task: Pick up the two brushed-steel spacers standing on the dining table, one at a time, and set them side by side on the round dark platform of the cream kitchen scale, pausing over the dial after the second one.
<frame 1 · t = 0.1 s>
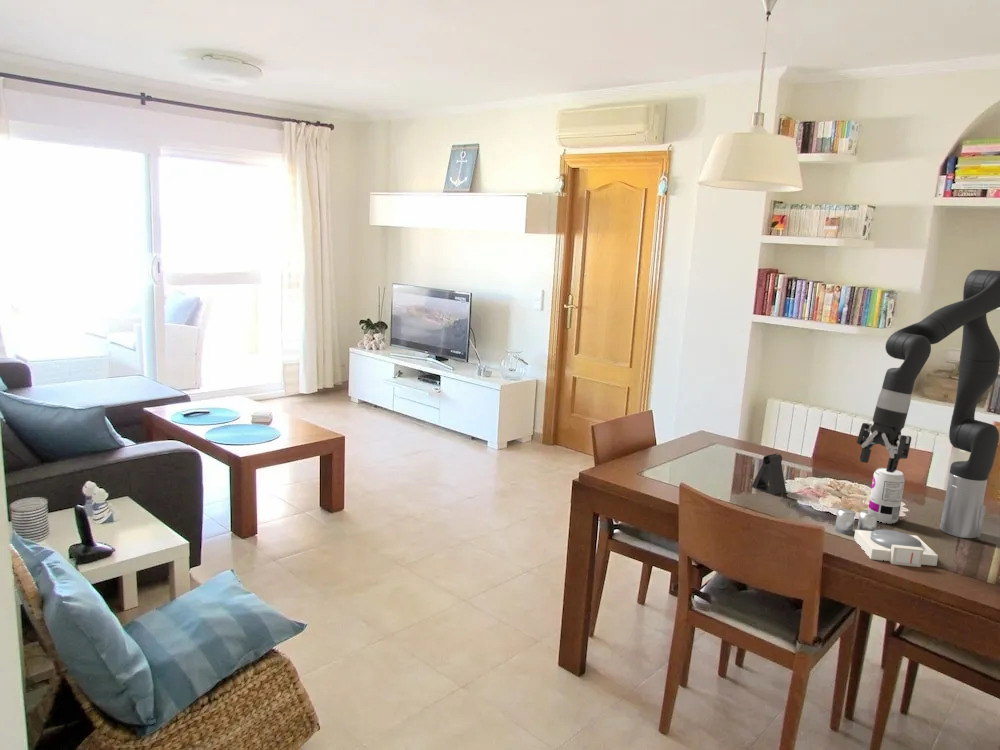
hand: (876, 467, 193), 22 cm above the table, tool pointing down, fingers open, 8 cm apart
scale: (893, 552, 194), on the table
spacer 2: (843, 531, 207), on the table
supplement can: (882, 519, 217), on the table
spacer 1: (865, 533, 206), on the table
black triangular stand: (768, 490, 239), on the table
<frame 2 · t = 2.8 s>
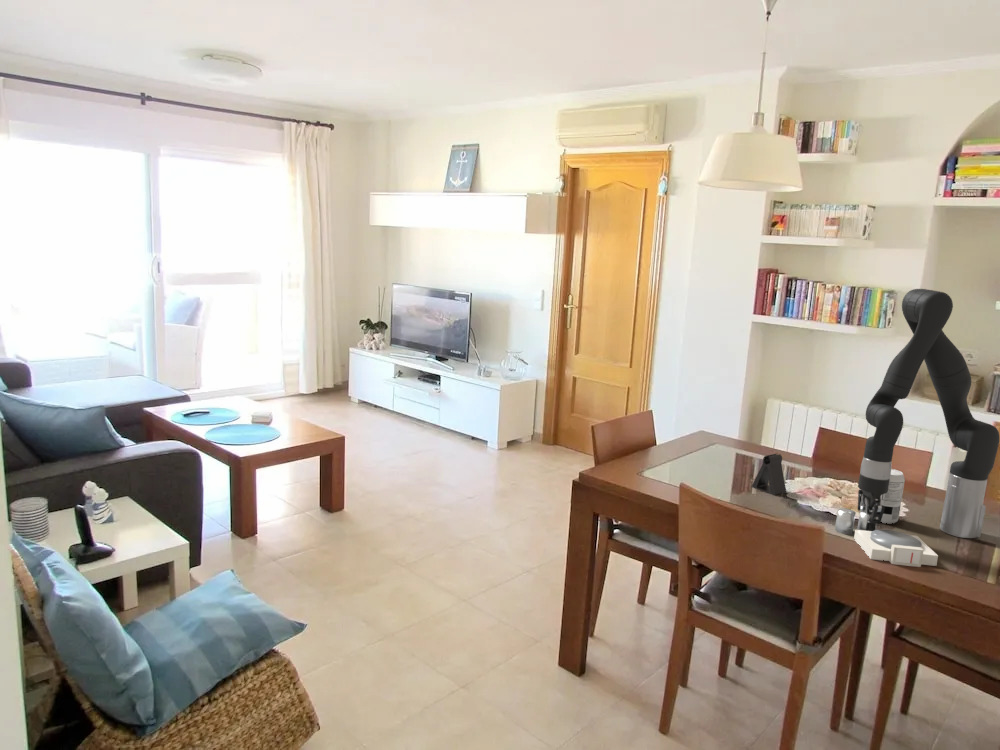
hand: (866, 531, 206), 1 cm above the table, tool pointing down, fingers closed on spacer 1, 4 cm apart
spacer 1: (865, 533, 206), on the table, touching gripper
everything else where it was.
when the fingers open (5 cm above the table, at t = 7.8 s): spacer 1 stays where it is, resting on scale.
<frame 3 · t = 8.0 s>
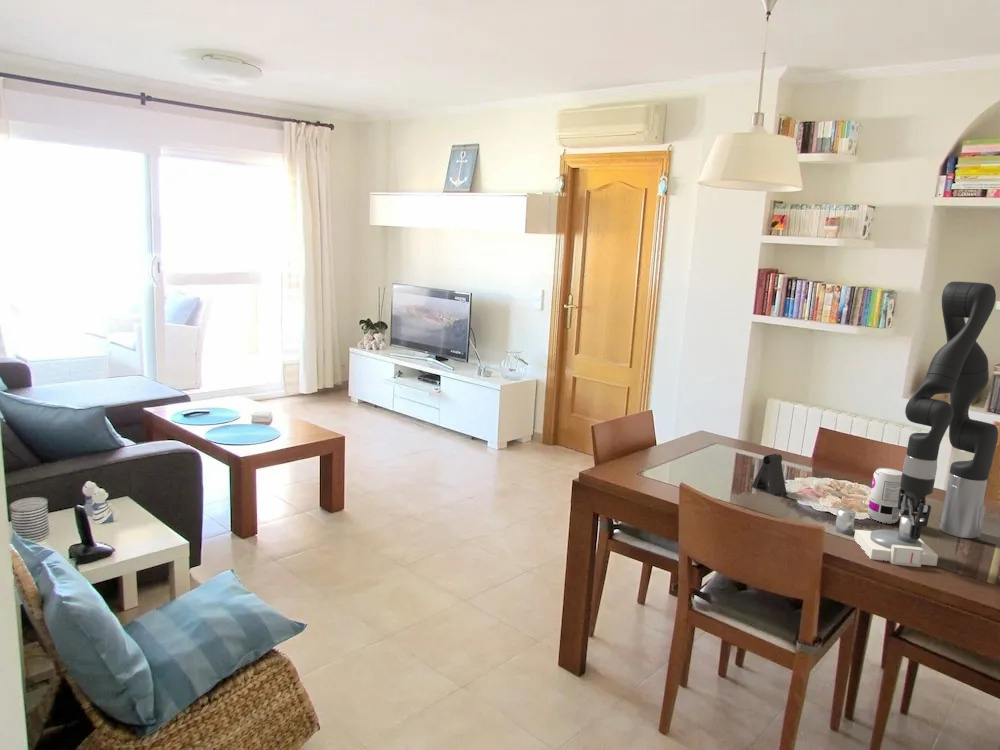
hand: (908, 533, 192), 6 cm above the table, tool pointing down, fingers open, 6 cm apart
spacer 1: (907, 539, 193), point 4 cm above the table, touching scale
everything else where it was.
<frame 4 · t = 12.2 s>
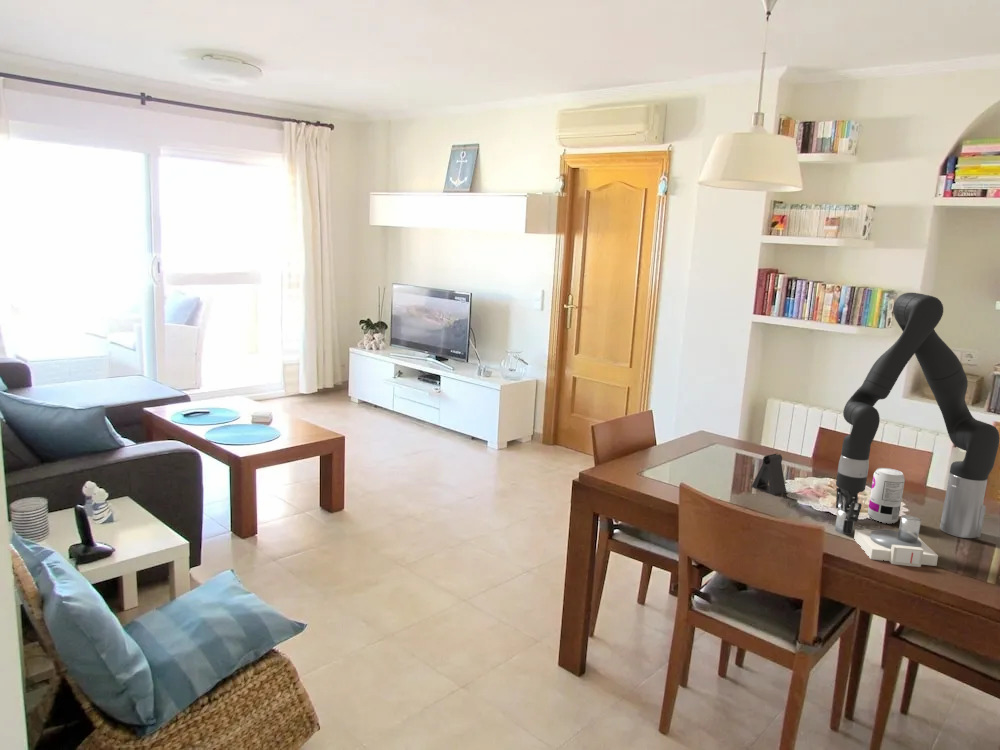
hand: (843, 529, 206), 1 cm above the table, tool pointing down, fingers closed on spacer 2, 4 cm apart
spacer 2: (843, 531, 207), on the table, touching gripper
everything else where it was.
when the fingers open (5 cm above the table, at t = 17.3 s): spacer 2 stays where it is, resting on scale.
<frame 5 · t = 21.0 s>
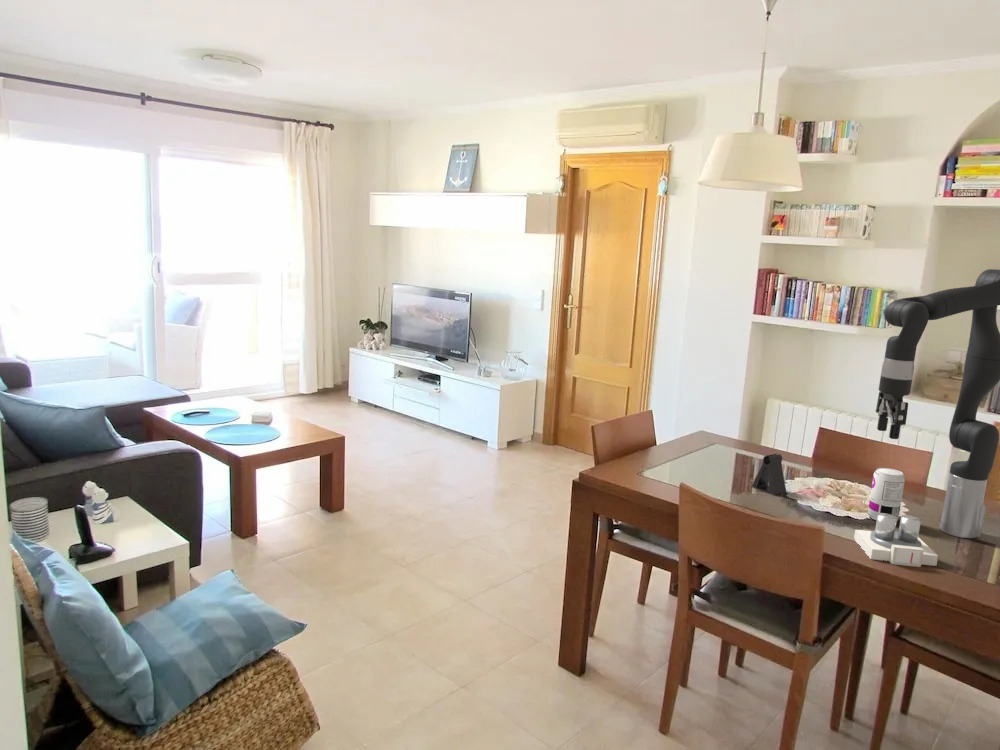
hand: (887, 434, 196), 30 cm above the table, tool pointing down, fingers open, 8 cm apart
spacer 2: (883, 537, 193), point 4 cm above the table, touching scale
everything else where it was.
at the end: spacer 1 inside the target area on the scale (2.9 cm from its centre), point 3.8 cm above the scale's base; spacer 2 inside the target area on the scale (3.0 cm from its centre), point 3.8 cm above the scale's base; spacer 2 tilted 0° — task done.
